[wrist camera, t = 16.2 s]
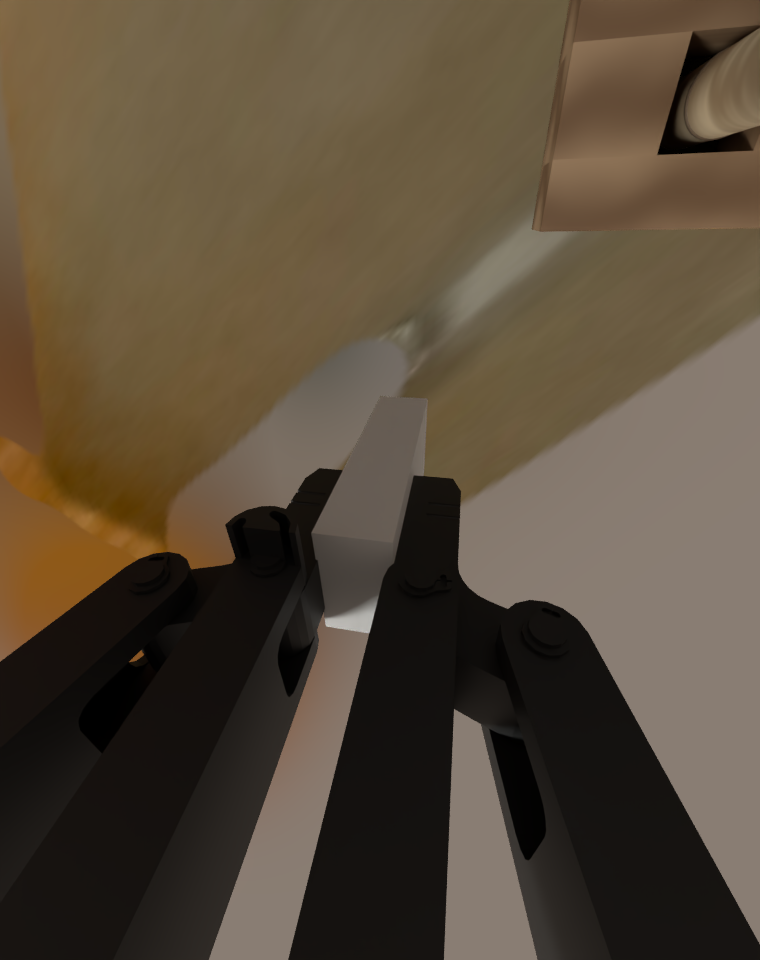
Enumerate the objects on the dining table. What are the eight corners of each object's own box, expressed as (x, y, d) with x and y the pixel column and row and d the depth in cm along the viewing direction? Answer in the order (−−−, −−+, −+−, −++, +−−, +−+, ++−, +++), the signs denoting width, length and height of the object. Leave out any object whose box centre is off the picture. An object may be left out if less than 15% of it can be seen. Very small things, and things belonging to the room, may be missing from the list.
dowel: (665, 72, 24) (845, -58, 12) (735, 67, 23) (995, -76, 12) (643, 152, 26) (780, 104, 14) (707, 149, 25) (903, 97, 14)
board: (573, -22, 22) (593, -68, 19) (915, -63, 20) (1017, -127, 16) (531, 229, 29) (540, 231, 25) (782, 224, 26) (832, 226, 23)
